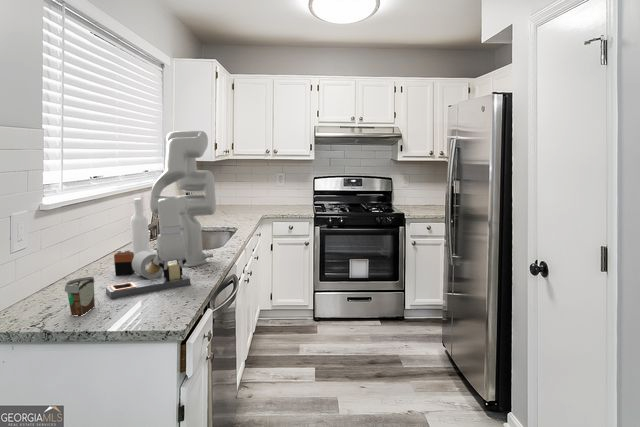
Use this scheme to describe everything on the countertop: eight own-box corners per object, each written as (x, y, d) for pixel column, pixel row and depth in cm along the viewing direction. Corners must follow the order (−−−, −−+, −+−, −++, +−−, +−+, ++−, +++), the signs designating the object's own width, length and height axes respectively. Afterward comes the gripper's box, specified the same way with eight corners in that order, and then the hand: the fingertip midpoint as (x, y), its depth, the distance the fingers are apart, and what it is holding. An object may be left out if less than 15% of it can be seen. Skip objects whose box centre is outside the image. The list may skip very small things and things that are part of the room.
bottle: (150, 258, 225) (145, 197, 221) (151, 261, 218) (146, 198, 214) (132, 260, 222) (127, 198, 218) (133, 263, 215) (128, 199, 211)
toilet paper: (166, 276, 189) (164, 252, 188) (141, 281, 183) (139, 256, 182) (156, 272, 197) (154, 249, 196) (132, 276, 190) (130, 253, 189)
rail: (182, 280, 182) (182, 273, 182) (190, 284, 175) (190, 277, 174) (106, 293, 166) (105, 285, 166) (111, 299, 159) (110, 291, 159)
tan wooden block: (177, 282, 178) (176, 262, 178) (180, 284, 175) (179, 264, 174) (166, 284, 176) (165, 264, 175) (170, 286, 173) (168, 266, 172)
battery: (131, 275, 193) (129, 251, 192) (115, 275, 193) (113, 252, 192) (135, 272, 197) (133, 249, 196) (119, 273, 197) (117, 250, 196)
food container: (77, 306, 152) (74, 277, 151) (96, 305, 152) (94, 276, 151) (59, 319, 140) (56, 287, 138) (80, 318, 140) (77, 286, 139)
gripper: (188, 227, 181) (191, 272, 183) (144, 232, 172) (148, 279, 174) (195, 229, 175) (198, 276, 177) (149, 234, 165) (153, 284, 168)
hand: (173, 277), depth 175 cm, fingers closed on tan wooden block, 4 cm apart
